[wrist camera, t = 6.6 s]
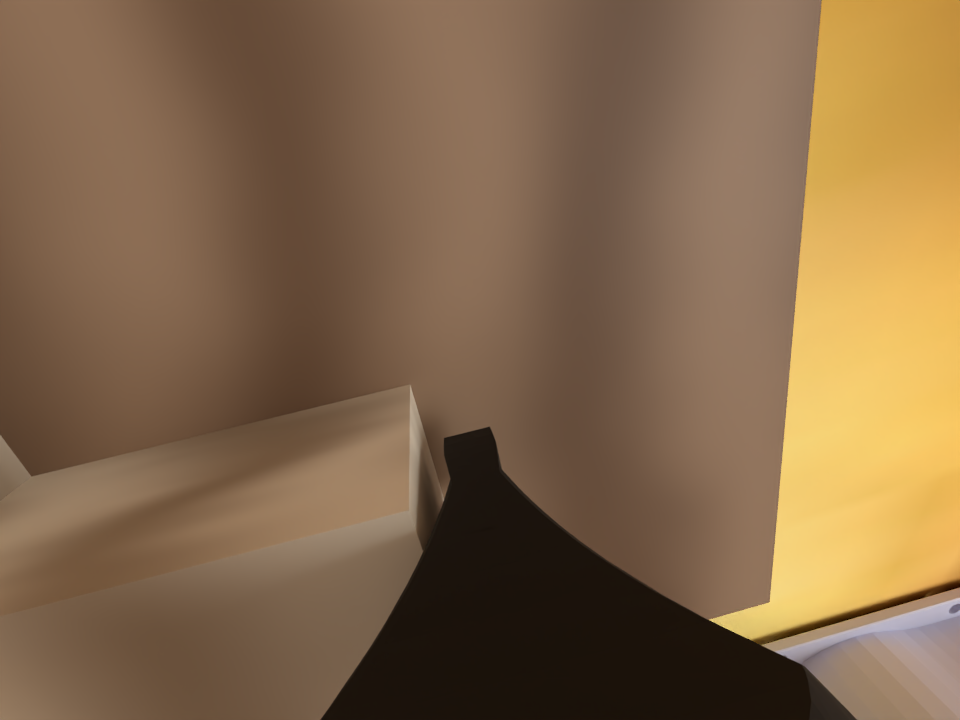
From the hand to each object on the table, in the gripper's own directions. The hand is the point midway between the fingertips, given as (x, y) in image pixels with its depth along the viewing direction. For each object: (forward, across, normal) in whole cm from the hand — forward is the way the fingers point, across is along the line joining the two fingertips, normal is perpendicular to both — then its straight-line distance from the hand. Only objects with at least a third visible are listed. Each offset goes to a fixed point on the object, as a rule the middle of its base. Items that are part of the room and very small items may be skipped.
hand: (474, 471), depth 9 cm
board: (+2, +3, 0) cm, 4 cm away
